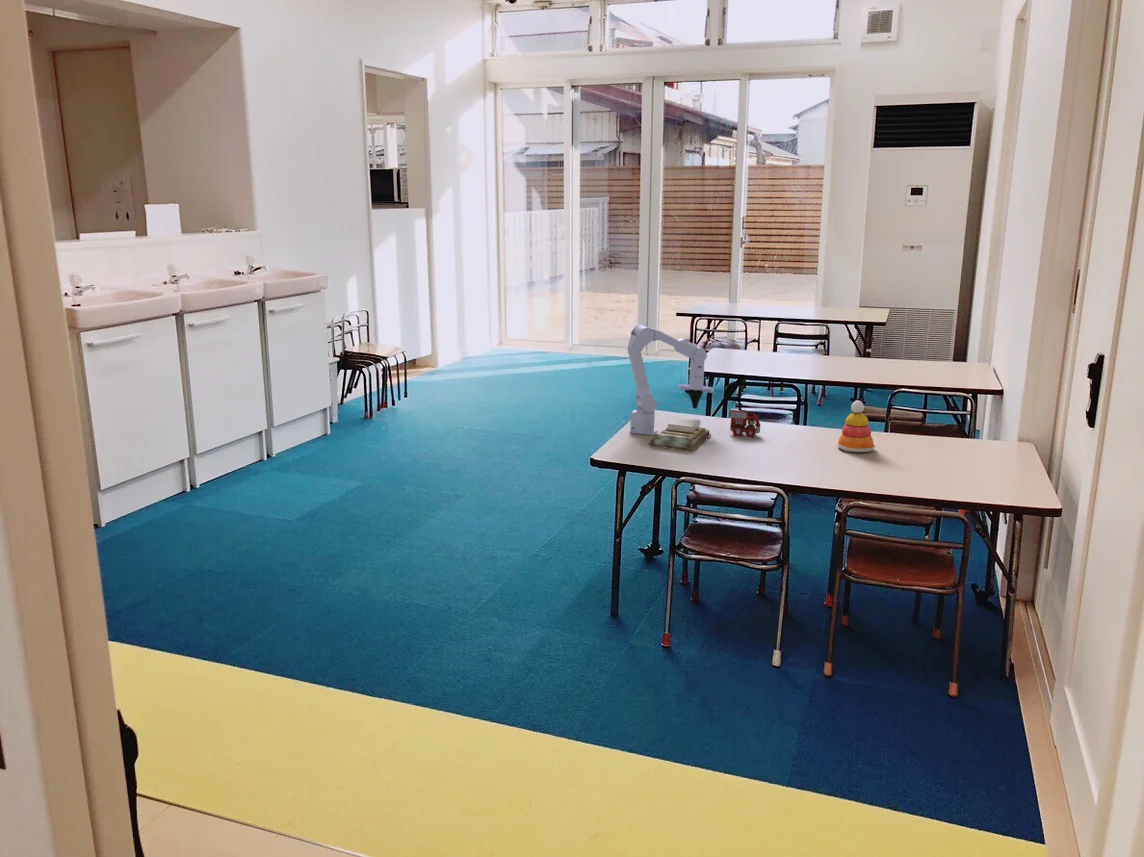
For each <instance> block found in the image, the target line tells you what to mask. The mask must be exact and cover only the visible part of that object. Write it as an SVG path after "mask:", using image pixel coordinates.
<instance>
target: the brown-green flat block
mask: <svg viewBox="0 0 1144 857" xmlns="http://www.w3.org/2000/svg"><path fill="white" fill-rule="evenodd" d="M650 436H651V437H650V438H651V439H650V442H648V446H649V445H650V446H649V447H655V446H660V447H659V448H663V447H667V448H666V449H670V448H674V449H673V450H678V449H680V451H686V450H689V452H694V451H695V450H696V449H698V448H699V447H700V446H701V445H702V444H704V443H705V442H704V441H705V440H706V439H707V438H708V437H709V436H710V437H712V434H711V433H710V429H706V427H700V426H699V427H698V428H697V429H695V430H694V431H693V432H692V433H691V432H683V431H675V430H668V426H667V427H666V428H664V429H663V430H661V432H655V433H652V435H650ZM710 437H709V438H710ZM709 438H708V439H709ZM708 439H707V440H708ZM707 440H706V441H707ZM701 443H702V444H701ZM700 444H701V445H700ZM699 445H700V446H699ZM698 446H699V447H698ZM697 447H698V448H697ZM693 450H694V451H693Z"/></svg>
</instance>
